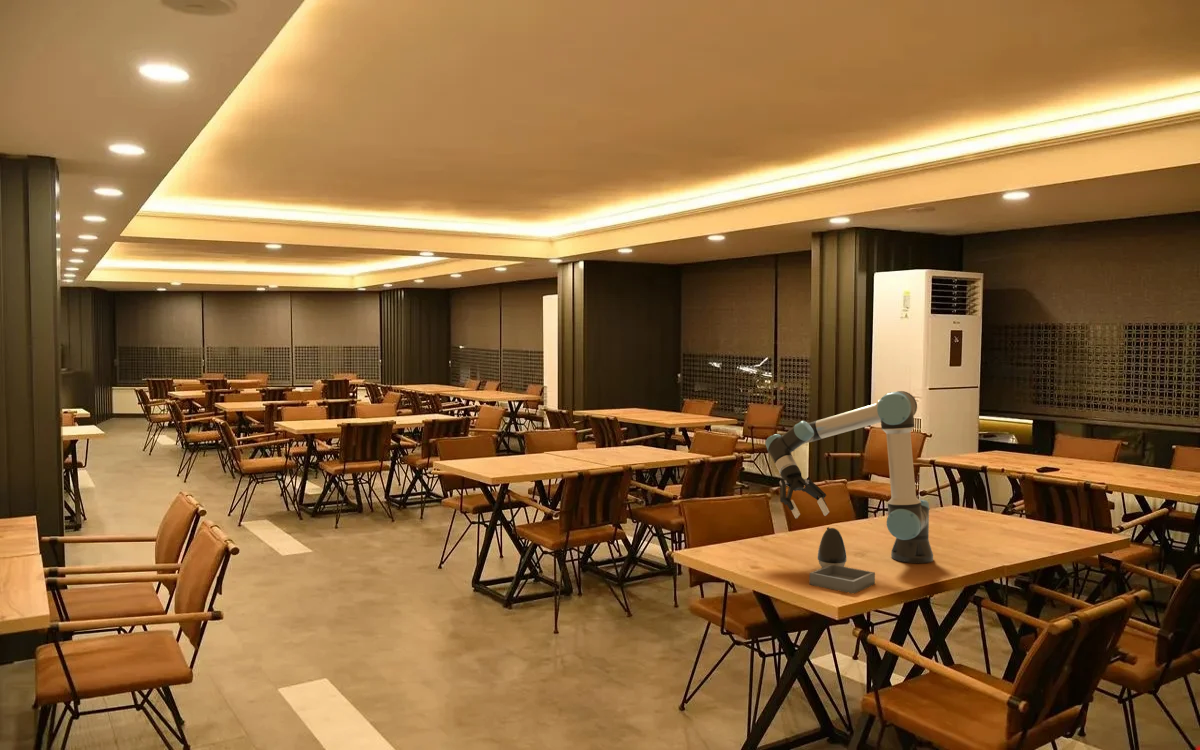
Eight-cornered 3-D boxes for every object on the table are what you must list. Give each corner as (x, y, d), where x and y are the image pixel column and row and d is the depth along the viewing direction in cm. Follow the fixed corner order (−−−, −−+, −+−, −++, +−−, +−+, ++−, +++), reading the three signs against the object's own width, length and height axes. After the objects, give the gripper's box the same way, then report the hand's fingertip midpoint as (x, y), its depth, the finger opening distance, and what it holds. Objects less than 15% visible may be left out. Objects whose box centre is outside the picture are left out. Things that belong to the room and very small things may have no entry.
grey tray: (831, 575, 301) (831, 564, 301) (874, 584, 290) (874, 572, 290) (809, 584, 289) (809, 572, 289) (853, 593, 278) (853, 581, 278)
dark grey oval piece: (841, 565, 315) (841, 525, 314) (850, 573, 305) (850, 531, 304) (813, 565, 315) (814, 525, 314) (822, 573, 304) (822, 531, 304)
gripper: (809, 474, 340) (834, 518, 327) (758, 477, 329) (780, 523, 316) (818, 462, 335) (843, 507, 322) (766, 465, 324) (790, 511, 311)
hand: (812, 515), depth 319 cm, fingers open, 13 cm apart
